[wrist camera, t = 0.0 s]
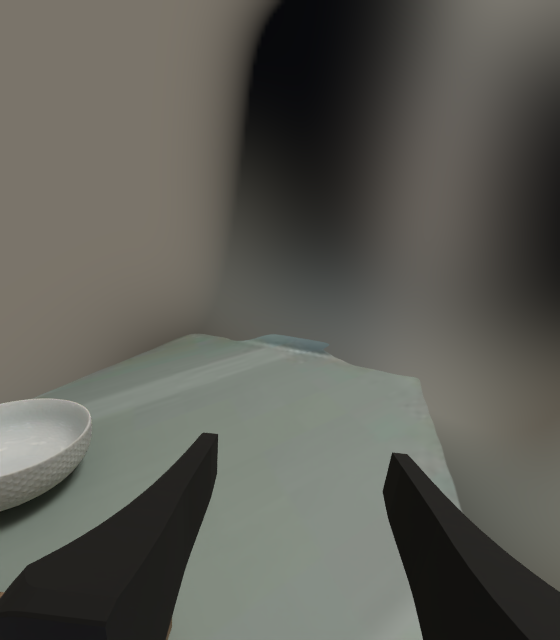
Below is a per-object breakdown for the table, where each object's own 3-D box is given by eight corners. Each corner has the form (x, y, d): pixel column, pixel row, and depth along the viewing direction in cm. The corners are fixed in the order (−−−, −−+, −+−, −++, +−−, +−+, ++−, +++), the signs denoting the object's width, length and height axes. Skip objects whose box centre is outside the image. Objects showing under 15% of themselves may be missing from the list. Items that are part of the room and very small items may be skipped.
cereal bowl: (122, 453, 44) (121, 408, 42) (-1, 570, 28) (-11, 504, 26) (20, 431, 46) (14, 388, 45) (-147, 527, 30) (-165, 465, 29)
